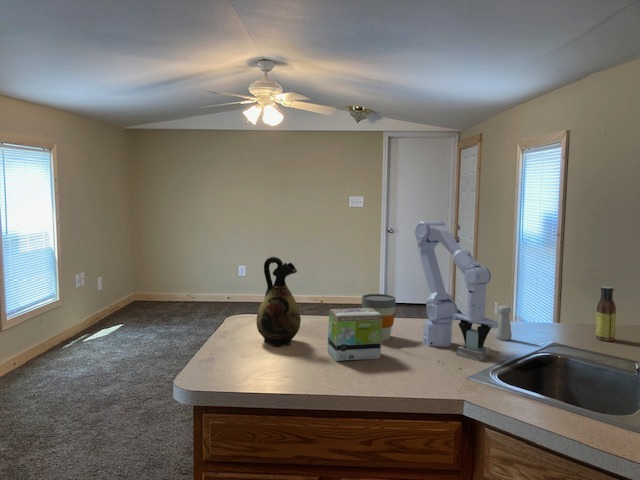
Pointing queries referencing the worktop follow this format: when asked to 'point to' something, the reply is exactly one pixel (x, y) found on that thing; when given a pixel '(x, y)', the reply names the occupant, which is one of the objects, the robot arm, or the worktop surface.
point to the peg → (472, 340)
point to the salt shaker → (504, 324)
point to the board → (476, 353)
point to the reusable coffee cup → (382, 310)
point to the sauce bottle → (606, 315)
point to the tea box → (354, 334)
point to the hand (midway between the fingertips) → (474, 345)
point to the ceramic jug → (278, 307)
